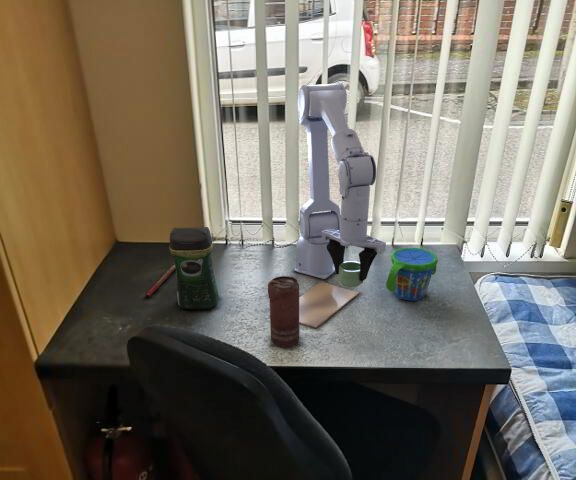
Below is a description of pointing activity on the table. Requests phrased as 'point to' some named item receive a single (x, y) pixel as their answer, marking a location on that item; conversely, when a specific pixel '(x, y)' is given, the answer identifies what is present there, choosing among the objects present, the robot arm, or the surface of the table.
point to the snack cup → (411, 272)
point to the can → (284, 311)
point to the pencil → (160, 281)
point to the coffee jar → (194, 267)
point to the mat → (322, 303)
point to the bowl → (350, 274)
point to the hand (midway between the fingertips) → (350, 276)
